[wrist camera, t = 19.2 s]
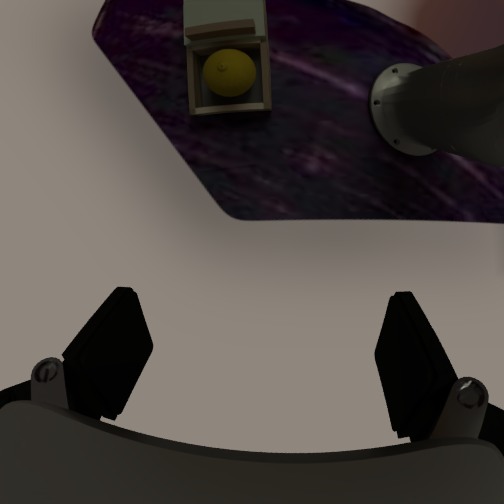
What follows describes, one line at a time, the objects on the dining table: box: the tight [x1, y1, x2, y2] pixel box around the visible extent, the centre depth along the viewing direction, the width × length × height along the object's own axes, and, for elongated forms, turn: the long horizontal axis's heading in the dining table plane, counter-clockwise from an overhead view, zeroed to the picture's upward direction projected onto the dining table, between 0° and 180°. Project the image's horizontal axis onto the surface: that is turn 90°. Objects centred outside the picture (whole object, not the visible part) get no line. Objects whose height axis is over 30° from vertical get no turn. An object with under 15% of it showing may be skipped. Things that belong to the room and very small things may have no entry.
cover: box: [184, 0, 265, 47], centre depth 21 cm, size 9×8×3 cm
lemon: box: [203, 49, 256, 97], centre depth 25 cm, size 6×6×8 cm
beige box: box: [187, 0, 272, 116], centre depth 27 cm, size 9×16×4 cm, turn 3°
